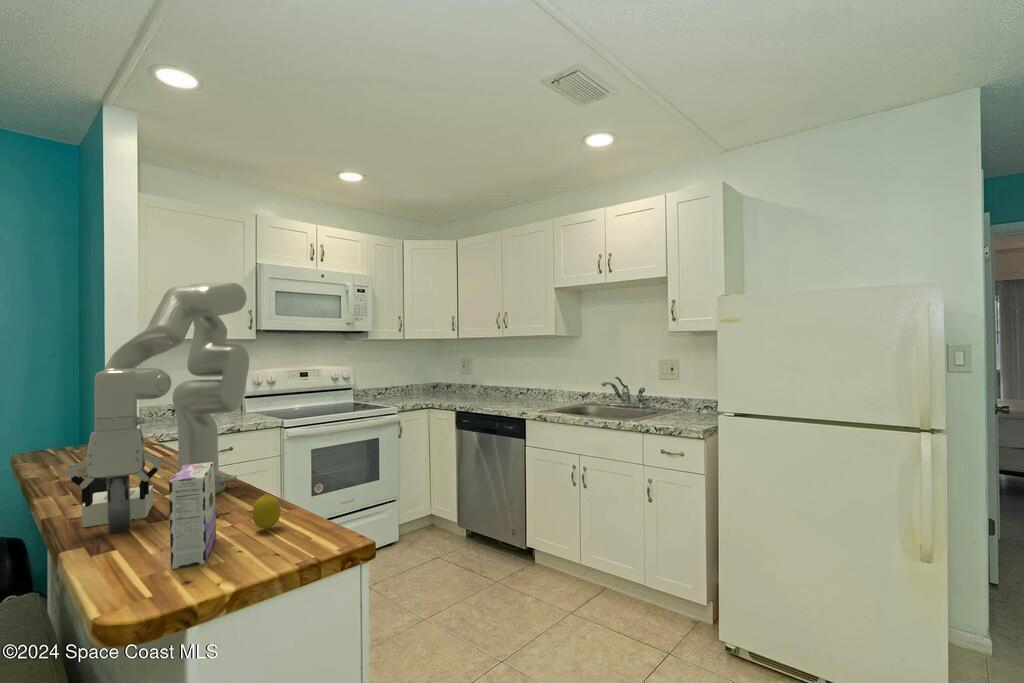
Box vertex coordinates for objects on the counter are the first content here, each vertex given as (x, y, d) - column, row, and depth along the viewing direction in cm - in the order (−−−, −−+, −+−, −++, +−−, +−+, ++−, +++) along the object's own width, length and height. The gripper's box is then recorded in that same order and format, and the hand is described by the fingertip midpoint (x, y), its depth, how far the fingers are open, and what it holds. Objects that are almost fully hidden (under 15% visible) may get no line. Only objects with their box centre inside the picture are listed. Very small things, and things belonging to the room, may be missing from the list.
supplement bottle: (79, 495, 143) (78, 452, 143) (105, 488, 150) (104, 447, 150) (97, 496, 141) (96, 453, 141) (122, 489, 148) (121, 448, 148)
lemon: (275, 524, 115) (274, 488, 115) (284, 530, 111) (283, 493, 111) (249, 530, 111) (248, 494, 111) (257, 537, 107) (257, 499, 107)
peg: (132, 525, 117) (130, 473, 117) (128, 531, 113) (127, 477, 113) (110, 529, 115) (108, 476, 115) (106, 534, 111) (104, 480, 111)
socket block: (153, 504, 132) (152, 485, 132) (146, 517, 122) (145, 496, 122) (94, 512, 127) (94, 492, 127) (82, 527, 116) (81, 505, 116)
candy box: (184, 543, 105) (182, 464, 105) (217, 538, 107) (215, 460, 107) (169, 570, 92) (167, 479, 92) (207, 564, 94) (204, 475, 94)
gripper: (164, 420, 121) (165, 492, 121) (71, 426, 113) (71, 504, 112) (160, 423, 115) (161, 499, 114) (60, 430, 106) (60, 512, 106)
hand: (116, 501), depth 113 cm, fingers open, 9 cm apart
